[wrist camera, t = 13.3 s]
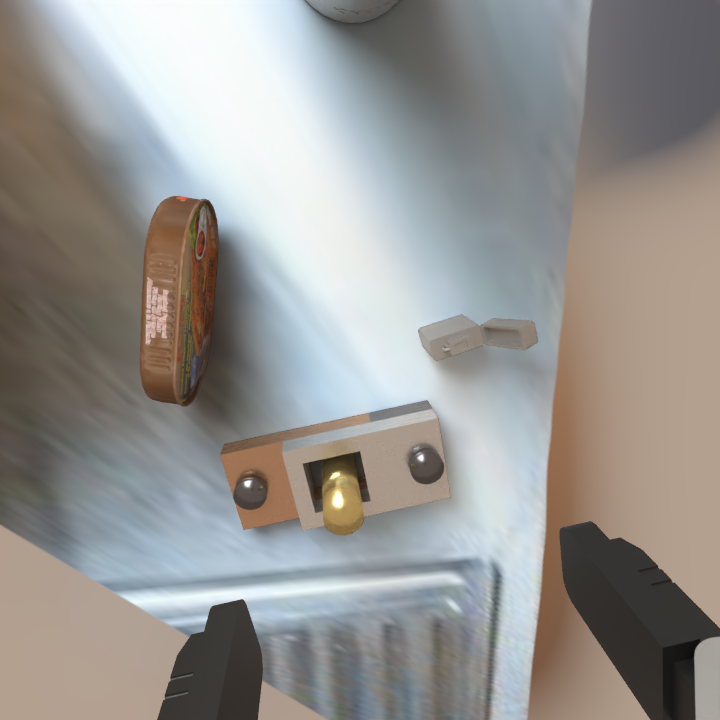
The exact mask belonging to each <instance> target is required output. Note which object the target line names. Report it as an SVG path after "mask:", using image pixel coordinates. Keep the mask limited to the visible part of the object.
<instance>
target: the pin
mask: <svg viewBox="0 0 720 720" xmlns="http://www.w3.org/2000/svg"><path fill="white" fill-rule="evenodd" d="M321 467H322V497H323V521H324V524H325V526H326V528H327V529H328V530H329V531H330V532H332V533H334V534H337V535H348V534H351V533H353V532H355V531H356V530H358V529H359V528H360V526H361V525H362V523H363V520H364V513H363V507H362V501H361V495H360V489H359V483H358V477H357V472H356V466H355V460H354V455H353V453H349V454H344V455H340V456H335V457H331V458H326V459H321Z"/></svg>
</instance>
